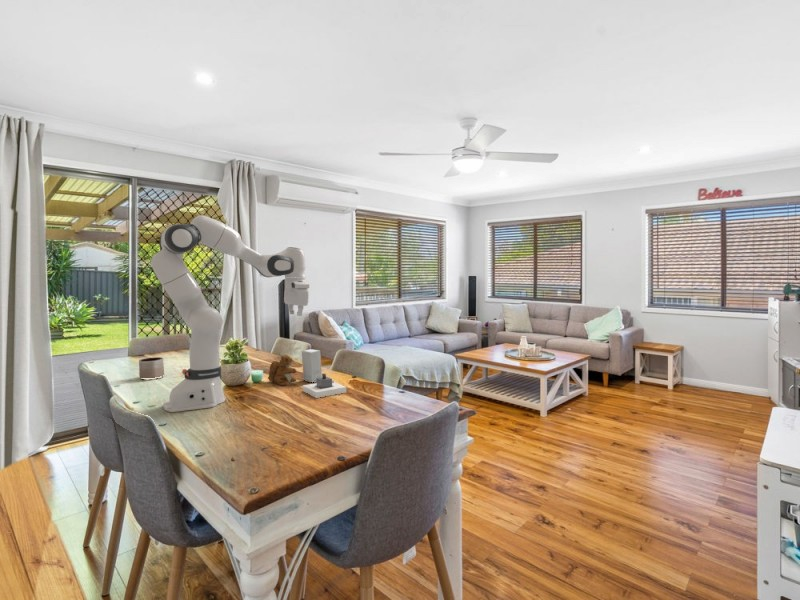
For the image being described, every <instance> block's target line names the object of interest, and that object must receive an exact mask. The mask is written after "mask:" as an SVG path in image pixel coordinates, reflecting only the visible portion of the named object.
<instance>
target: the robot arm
mask: <svg viewBox="0 0 800 600" xmlns="http://www.w3.org/2000/svg"><path fill="white" fill-rule="evenodd" d="M159 236H160V237H159V244H160V245H159V246H160V247H159V249H160V250H159V251H158V252H156V253H155V254H154V255H153V256H152V257H151V258H150V264H151V267H152V270H153V272H154V274H155V276H156V278H157V279H158V281H159V283H160V284H161V287H163V289H164V291H165V292H166V293H167V295H168V296H169V297H170V300H171V301H172V303H173V304H174V306H175V308H176V309H177V311H178V313H179V315H180V316H181V318H182V320H183V321H184V323H185V324H186V326H187V327H188V329H190V330H191V334H190V346H189V349H188V350H189V368H188V369H186V368H184V369H182V370H181V374H182V375H184V379H183V380H182V381H180V382H179V383H178V384H177V385H175V386H174V387H173V388H172V389H171V391H170V394H169V400H168V401H165V402H164V403H163V406H162V408H163V410H164V411H166V412H168V413H169V412H170V413H177V412H183V411H193V410H200V409H207V408H208V409H209V408H214V407H216V406H217V405H219V404H222V403H224V402H225V401H226V397H225V394H224V391H223V386H222V378H223V377H222V376H223V374H222V366H221V363H220V362H221V360H220V359H221V358H220V343H221V335H222V326H223V324H224V320H223V316H222V314H221V313H220V311H218V309H216V308H214V307H212V306H210V305H209V303H208V302H207V300H206V298H205V295H204V294H203V292H202V289H201V286H199V284H198V282H197V281H196V278H195V277H194V276H193V274H192V273H191V271H190V270H189V269H188V267H187V265H186V264H185V262H184V254H185V253H188V252H190V251H192V250H193V249H194V248H195V247H196V245H198V244H201V245H204V246H206V247H209V248H210V249H213V250H215V251H217V252H220V253H222V254H225V255H228V256H232V257H235V258H237V259H239V260H241V261H242V262H245V263H247V264H248V265H251V266H252V267H254V269H256V271H257V272H258V273H259V274H260V275H261V276H262V277H265V278H274V277H282V276H284V277H285V278H284V287H285V288H284V294H283V296H284V297H283V303H284V304H285V305H287V308H288V312H289V315H295V309H294V306H297V311H296V313H297V314H296V315H297V316H298V317H302V316H303V310H304V307H306V306H308V304H309V296H310V295H309V294H310V293H309V289H310V283H309V282H307V280H306V275H305V271H306V258H305V252H304V251H303V249H301V248H298V247H292V246H291V247H286V248H285V249H283V250H282V251H279V252H277V253H275V254H263V253H259V252H258V251H256V250H255V249H253V248H251V247H249V246H247V245H246V244H245V243H244V242H243V241H242V237H241V234H240V233H239V232H238V231H237V230H235V229H234V228H232V227H231V226H229V225H227V224H226V223H223V222H222V221H220V220H218V219H217V220H216V219H215V218H212V217H209V216H206V215H203V214H201V215H197V216H195V217H194V218H193V219H192V220H191V221H190V223H177V224H175V223H174V224H170V225H168V226H167V227H165V228H164V229H163V231H161V233H160V235H159Z"/></svg>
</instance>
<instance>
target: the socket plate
mask: <svg viewBox="0 0 800 600" xmlns="http://www.w3.org/2000/svg"><path fill="white" fill-rule="evenodd" d="M302 392H304V393H306V394H307V393H308V394H307V395H309V394H310V396H312V397H313V398H315V399H320V397H321V398H326V397H331V396H336V395H335V394H337V395H340V394H341V393H342V394H346V393H347V387H346V386H344V385H342V384H340V383H338V382H336V381H335V380H333V379H332V387H329V388H324V389H319V388H317V382H314V383H310V384H304V385H302ZM342 394H341V395H342ZM330 395H331V396H330ZM325 396H326V397H325Z"/></svg>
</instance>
